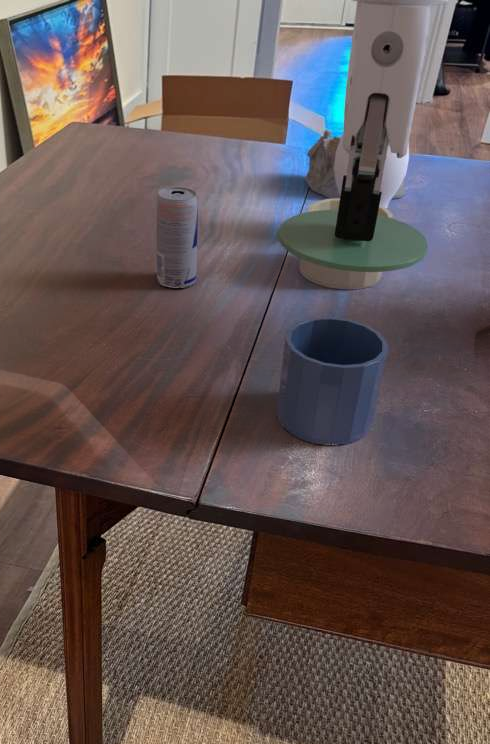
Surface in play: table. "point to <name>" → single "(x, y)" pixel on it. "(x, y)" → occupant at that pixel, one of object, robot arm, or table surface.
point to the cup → (390, 178)
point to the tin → (336, 276)
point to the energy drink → (177, 236)
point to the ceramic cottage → (328, 168)
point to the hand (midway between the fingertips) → (354, 229)
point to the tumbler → (330, 379)
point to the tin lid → (352, 243)
